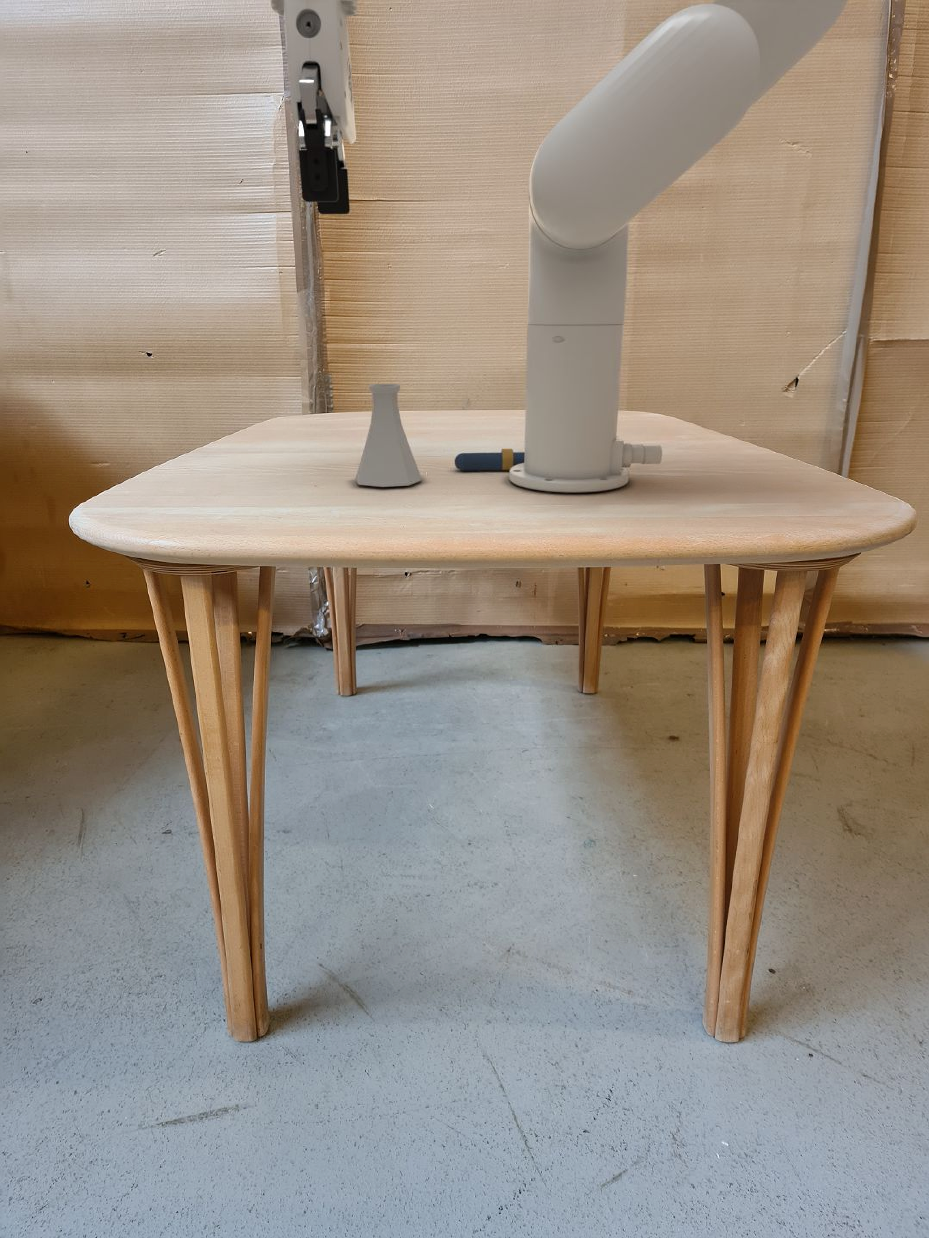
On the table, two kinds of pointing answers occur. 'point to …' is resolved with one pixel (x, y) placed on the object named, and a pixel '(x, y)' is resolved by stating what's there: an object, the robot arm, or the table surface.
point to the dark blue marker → (489, 460)
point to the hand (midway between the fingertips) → (327, 208)
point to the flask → (386, 444)
